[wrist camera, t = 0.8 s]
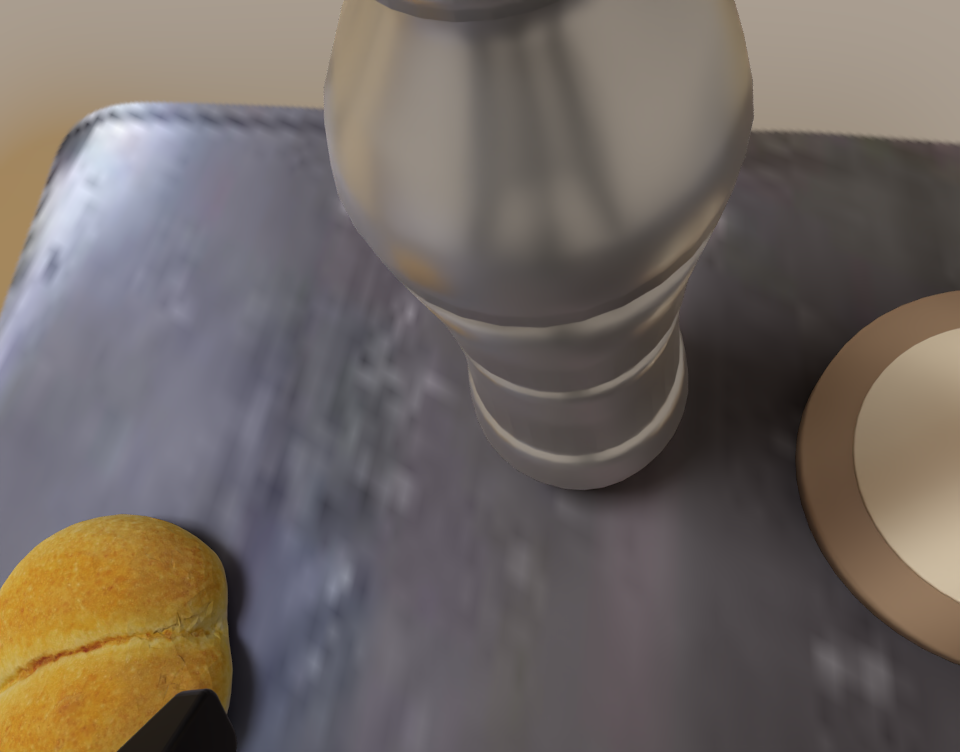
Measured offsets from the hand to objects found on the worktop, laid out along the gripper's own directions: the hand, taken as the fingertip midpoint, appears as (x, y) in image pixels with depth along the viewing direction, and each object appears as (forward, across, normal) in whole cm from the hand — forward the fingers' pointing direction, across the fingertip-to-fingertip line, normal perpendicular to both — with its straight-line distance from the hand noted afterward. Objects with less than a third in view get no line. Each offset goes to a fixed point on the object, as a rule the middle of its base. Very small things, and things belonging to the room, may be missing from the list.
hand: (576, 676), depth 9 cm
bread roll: (+11, +15, +10) cm, 21 cm away
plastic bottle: (+16, 0, +5) cm, 16 cm away
